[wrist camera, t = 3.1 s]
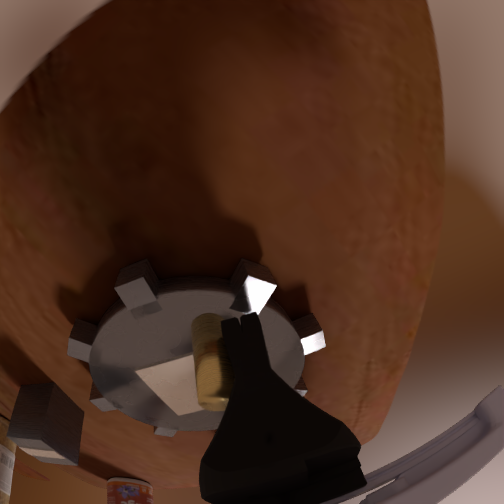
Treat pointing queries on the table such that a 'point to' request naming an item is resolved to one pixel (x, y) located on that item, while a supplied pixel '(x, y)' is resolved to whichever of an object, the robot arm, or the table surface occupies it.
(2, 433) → the sprinkles bottle
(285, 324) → the sprocket
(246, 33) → the table surface
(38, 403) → the grooved silver cube
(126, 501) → the pill bottle
